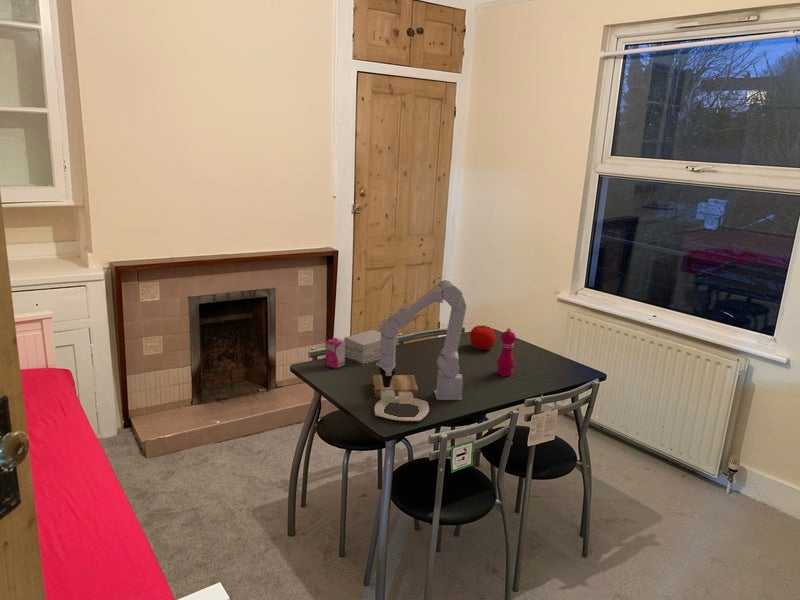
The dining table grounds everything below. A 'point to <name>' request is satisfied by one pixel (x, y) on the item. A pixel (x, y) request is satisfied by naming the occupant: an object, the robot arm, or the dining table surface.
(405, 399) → the white tile
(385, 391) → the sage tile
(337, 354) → the supplement box
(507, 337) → the pepper mill
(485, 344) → the tomato
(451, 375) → the robot arm
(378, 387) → the oak board
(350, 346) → the supplement box
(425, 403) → the pale beige plate
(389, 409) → the dining table surface
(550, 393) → the dining table surface
